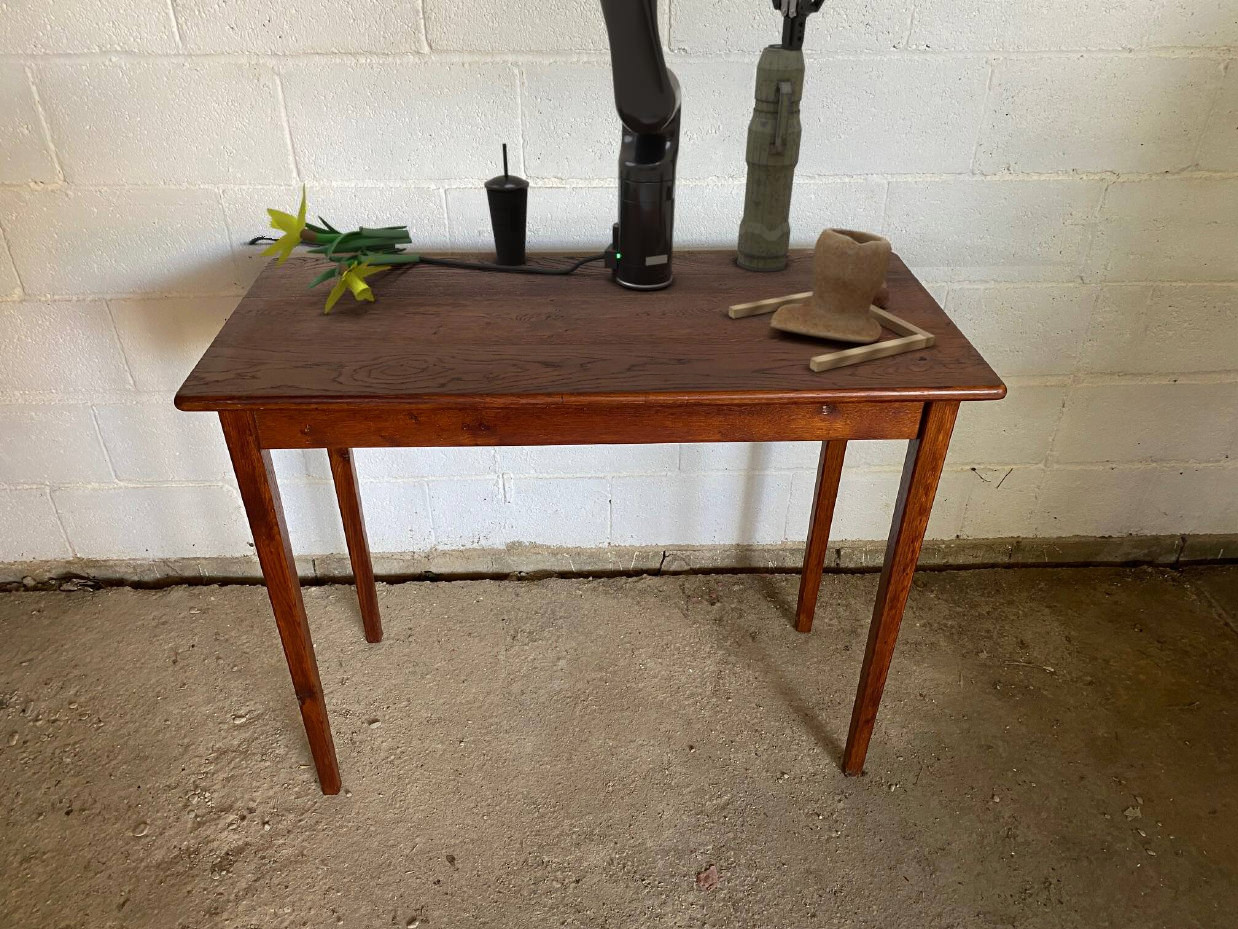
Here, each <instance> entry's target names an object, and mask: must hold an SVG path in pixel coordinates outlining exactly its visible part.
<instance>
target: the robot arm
mask: <svg viewBox="0 0 1238 929" xmlns="http://www.w3.org/2000/svg"><path fill="white" fill-rule="evenodd" d="M825 1H826V0H771V4H772V7H773V9H774V10H775V11H779V12H780V14H781V16H782V17H783V20H782V30H781V44H782V49H783V50H786V51H800V50H801V49H802V50H803V45H804V41H805V33H806V23H807V18H809V17H810V16H811V14H813V13H815V14H816V13H819V11H820V10H821V8H822V6H823V5H824V3H825ZM599 4H600V9H601V12H602V17H603V21H604V24H605V28H606V32H607V38H608V45H609V52H610V64H611V73H612V75H611V76H612V87H613V100H614V101H613V102H614V108H615V112H616V114H617V116H618V118H619V120H620V121H621V139H620V148H619V154H618V158H617V222H614V223H613V224H612V227H611V228H612V229H611V232H612V233H611V235H612V236H611V242H610V243H609V245H608V246H607V247H606V248H605V249H604V250H603V253H601V254H595V255H591V256H587V257H585V258H581V259H580V260H578V261H577V262H576V263H574V264H573V265H571V267H568V268H564V269H542V268H537V267H529V266H518V265H515V266H506V265H501V264H488V263H487V264H486V263H475V262H466V261H459V260H457V261H456V260H448V259H442V258H434V257H427V256H420V255H419V260H420V261H421V262H423V263H430V264H439V265H444V266H453V267H461V268H469V269H470V268H471V269H480V270H481V269H482V270H490V271H491V270H493V271H505V272H521V273H532V274H540V275H553V276H554V275H555V276H556V275H557V276H560V275H567V274H571V273H573V272H575V271H577V270H578V269H579V268H580V267H581V266H582V265H585V264H587V263H590V262H594V261H599V260H603V267H604V268H603V269H611V273H612V274H611V280H612V281H613V282H616V283H617V284H618V285H620V286H621V287H624V288H627V289H631V290H635V291H654V290H655V291H656V290H660V289H664V288H666V287H669V286H670V285H671V284H672V283H673V258H674V257H673V256H674V238H675V237H674V236H675V234H674V233H675V213H676V190H677V189H676V187H677V169H678V168H677V167H678V159H679V151H680V137H681V122H682V120H681V119H682V99H683V98H682V88H681V84H680V81H679V78H678V77H677V75H676V74H675V73H674V72H673V70H672V69H670V67H668V66H667V64H666V60H665V55H664V51H663V46H662V41H661V36H660V29H659V20H658V19H659V17H658V5H659V4H658V0H599ZM261 236H262V235H261ZM256 237H257V236H256ZM264 237H265V236H264ZM264 237H263V236H262V237H257V238H255V237H253V238H254V239H253V238H251V240H250V241H249V242H248V246H254V245H255V244H256V243H257V242H259V241H271V242H276V241H277V240H279V239H272V238H264ZM330 244H331V243H317V242H309V241H304V240H302V241H301V242H300V243H299V244H298V245H308V246H318V247H323V246H326V245H330ZM370 252H373V251H370ZM391 254H393V255H398V254H403V252H398V253H391ZM406 254H407V255H409V254H408V253H406Z"/></svg>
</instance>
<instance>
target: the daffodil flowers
mask: <svg viewBox="0 0 1238 929" xmlns="http://www.w3.org/2000/svg"><path fill="white" fill-rule="evenodd" d="M306 201H307V198H306V183H305V182H304V183H303V185H302V199H301V203H300V205H299V206H300V207H299V209H298V210H299V211H298V213H297V216H295V215H293V214H290V213H288V212H284V211H282V210H279V209H278V210H277V209H273V208H269V207H268V208H266V212H267V214H268V215H269V217H270V219H271V220H269V224H268V225H269V228H271V229H275V230H279V231H282V232H285V234H283V235H282V236H281V237H279V238H280V239H279V240H277V241H274V242H273V243H272V244H271V245H270V246H268V247H267V248H266V249H264V251H262V252H261V254H259V255H258V257H259V258H260V257H261V258H262V257H271V256H273V255H276V254H278V253H280V252H281V251H282V252H281V253H280V255H279V258H278V260H277V262H276V263H275V267H274V269H277V268H278V267H279V266H280V265H281V264H283V263H284V262H286V260H287V259H288V258H289V257H290V256H291V254H292V252H293V250H294V249H296V248H297V247H298V245H300V244H299V243H300V242H301V241H302V240H304V241H309V242H317V243H331V244H330V245H326V246H319V247H317V248H313V249H309V250H306V253H308V254H317V255H321V254H322V255H325V257H326V260H325V262H328V260H329V261H330V262H332V263H336V264H337V265H336V267H333V268H330V269H328V270H326V271H324V272H322V273H321V274H320V275H318V276H317V277H316V278H315V279H314V280H313V281H312V282H310V284H309V285H308V286H307V287H306V290H310V289H312V288H314V287H316V286H318V285H320V284H322V283H324V282H325V281H328V280H330V279H332V278H334V280H335V281H336V280H337V279H338V276H340V277H339V280H338V281H337V283H336V285H334V287H333V288H332V289H331V291H330V294H329V296H328V298H327V299H326V302H325V306H324V315H326V314H327V313H328V312H329V311H330V310H331V308H332V307H333V306H334V305H335V304H336V302H337V301H338V300H339V299H340V298H341V296H342V295H343V294H344V293H345V291H346V289H349V290H350V291H352V293H353V295H354V297H355V299H356V300H357V301H364V299H366V300H367V301H370V302H374V301H375V298H374V296H373V293H372V288H371V287H370V286H369V285H368V284H367V282H366V281H365V279H364V278H365V277H368V276H370V275H372V274H375V273H378V272H381V271H387V270H389V269H391V268H392V266H388V265H398V264H399V265H400V264H406V263H420V262H422V261H420V260H419V256H420V254H418V253H411V254H408V253H404V252H405V251H406V250H407V247H403V248H400V247H396V245H406V244H407V245H408V244H413V239H412V237H411V236H410V232H409V230H408V229H406V228H408V225H396V226H395V225H394V226H385V227H384V226H383V227H378V228H371V227H363V226H362V225H361V226H360V225H359V227H358V230H352V231H348V232H345V233H342V232H341V231H339V230H337V229H335V227H333V226H332V225H330V224H329V223H328V222H327V221H326V220H325V219H324V218H323V217H322V216H319V215H317V218H318V219H319V220H320V222H321V223H322V224H323V225H324V226H325V228H323V227H320V226H317V225H315V224H312V223H309V222H307V221H306V214H307V211H308V208H309V206H308V204H307V202H306ZM370 251H373V252H370ZM351 253H354V254H351ZM355 253H356V254H355ZM391 253H402V254H398V255H393V254H391ZM335 254H350V255H339V256H338V255H336V256H335ZM407 254H408V255H407Z"/></svg>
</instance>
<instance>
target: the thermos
mask: <svg viewBox="0 0 1238 929" xmlns="http://www.w3.org/2000/svg"><path fill="white" fill-rule="evenodd" d="M805 73H806V63H805V58H804V52H803V48H802V49H801V50H800V51H786V50H783V49H782V43H773V44H771V43H770V44H768V46H764V47H763V48H762V52H761V54H760V57H759V60H758V63H757V65H756V76H755V87H754V98H753V99H754V107H753V109H752V110H753V111H752V116H751V119H750V121H749V124H748V126H747V135H746V148H745V163H746V166H747V167H746V168H747V170H746V178H745V179H746V180H745V181H746V182H745V192H744V204H743V214H742V215H743V217H742V218H741V221H740V222H739V227H738V235H737V236H738V237H737V252H738V253H737V261H736V264H737V265H738V267H740V268H743V269H744V270H748V271H753V272H760V273H761V272H764V273H766V272H767V273H770V272H776V271H777V272H778V271H781V270H783V269H784V268H786V266H787V265H786V264H787V255H788V253H789V247H790V238H791V224H790V220H789V219H790V210H791V203H792V202H791V201H792V194H793V184H794V176H795V169H796V167H797V165H798V164H799V157H800V150H801V142H802V131H803V128H802V123H801V109H800V106H801V105H800V104H801V101H802V99H803V90H804V84H805V83H804V80H805Z"/></svg>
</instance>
